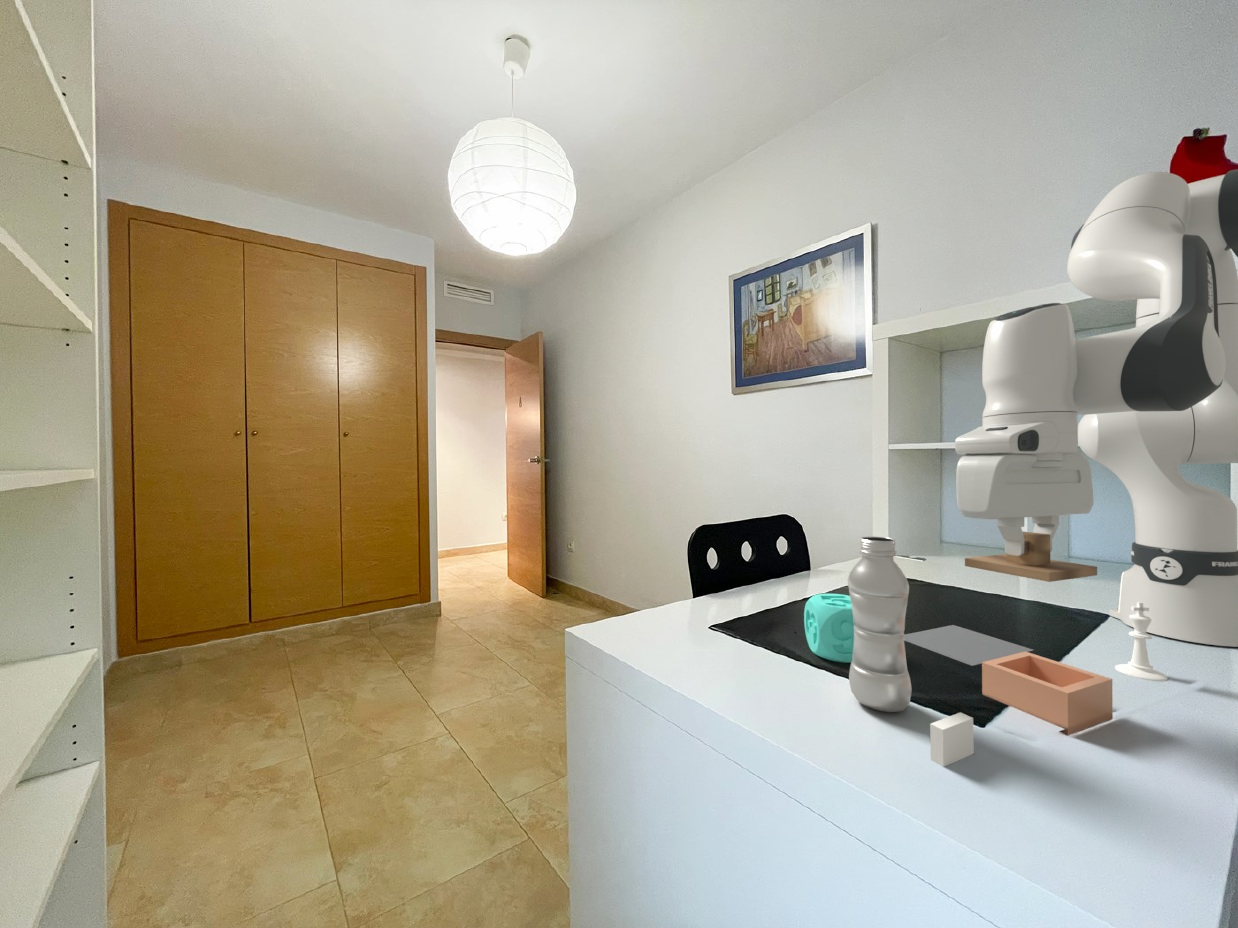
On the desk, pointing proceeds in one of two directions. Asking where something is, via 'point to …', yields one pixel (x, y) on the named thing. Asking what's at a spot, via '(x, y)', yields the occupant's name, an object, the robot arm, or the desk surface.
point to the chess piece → (1140, 649)
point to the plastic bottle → (879, 628)
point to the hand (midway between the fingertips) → (1028, 553)
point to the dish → (1049, 690)
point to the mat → (964, 644)
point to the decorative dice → (830, 626)
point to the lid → (1033, 562)
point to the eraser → (951, 739)
